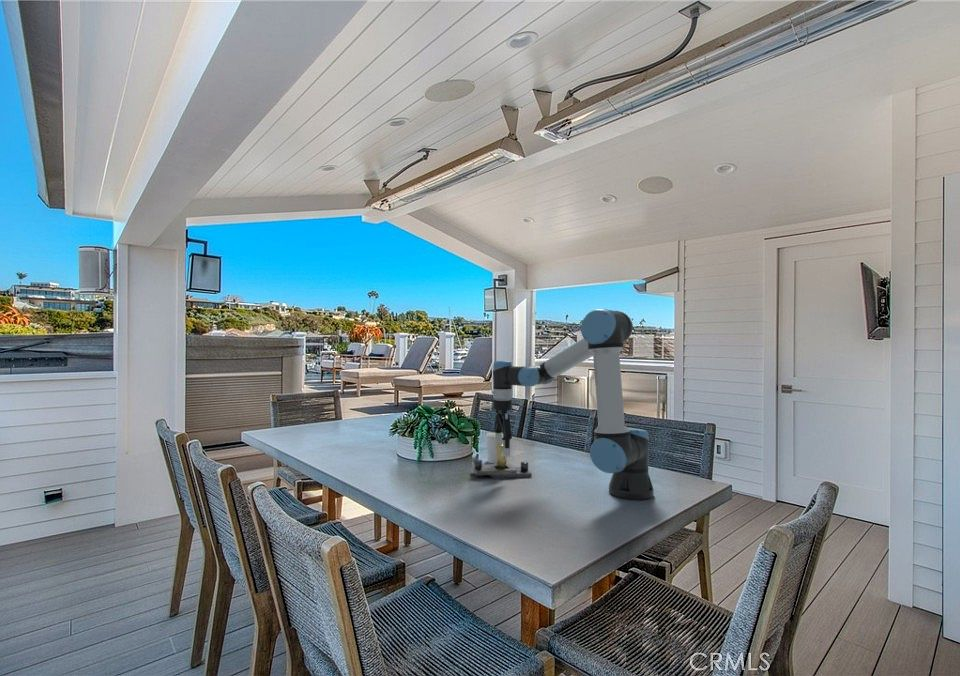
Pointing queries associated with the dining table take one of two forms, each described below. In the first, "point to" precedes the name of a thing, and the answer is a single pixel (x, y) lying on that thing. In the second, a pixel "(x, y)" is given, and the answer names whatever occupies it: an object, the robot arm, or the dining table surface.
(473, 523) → the dining table surface
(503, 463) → the toggle switch lever
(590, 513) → the dining table surface
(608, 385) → the robot arm
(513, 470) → the toggle switch plate
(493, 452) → the candle holder
